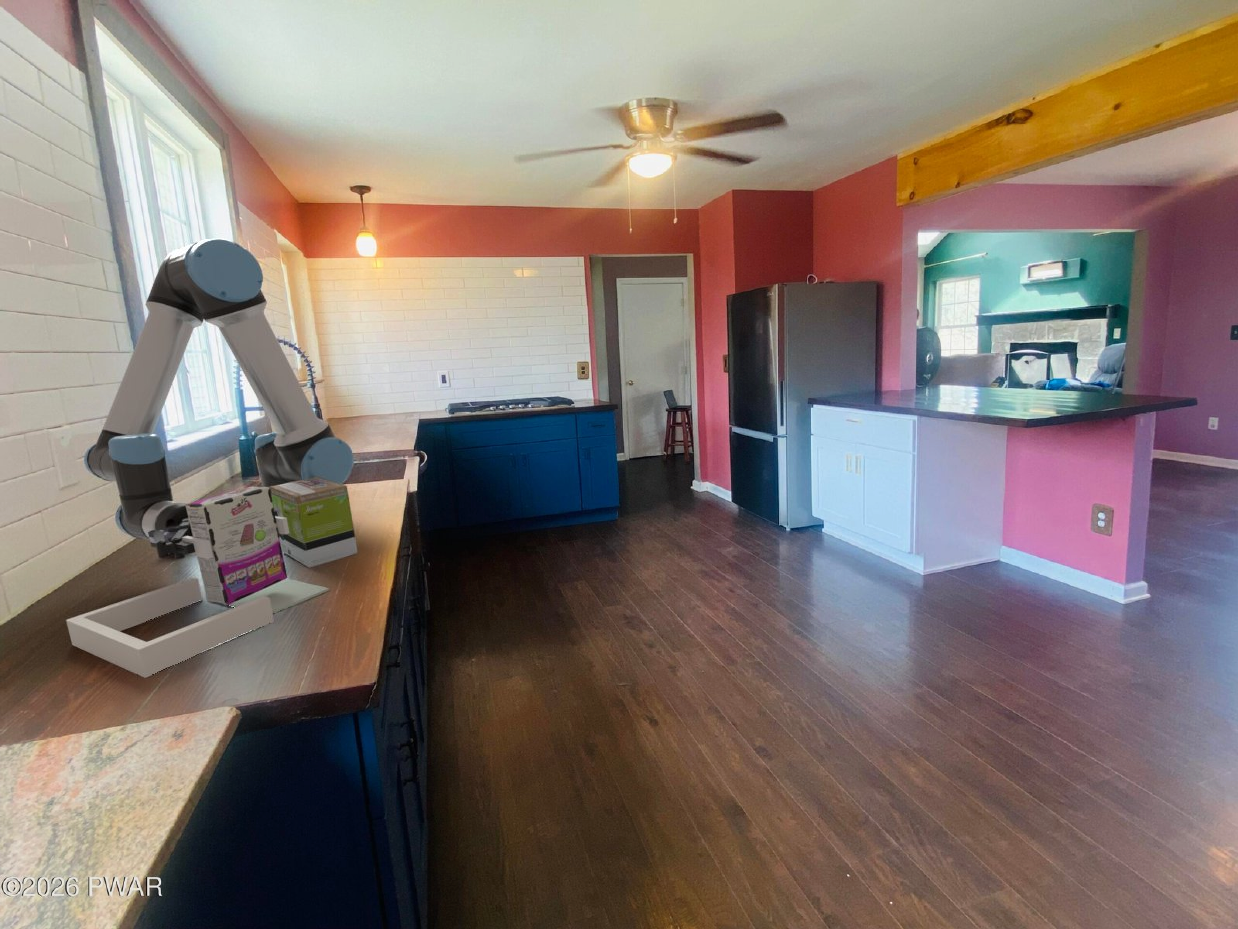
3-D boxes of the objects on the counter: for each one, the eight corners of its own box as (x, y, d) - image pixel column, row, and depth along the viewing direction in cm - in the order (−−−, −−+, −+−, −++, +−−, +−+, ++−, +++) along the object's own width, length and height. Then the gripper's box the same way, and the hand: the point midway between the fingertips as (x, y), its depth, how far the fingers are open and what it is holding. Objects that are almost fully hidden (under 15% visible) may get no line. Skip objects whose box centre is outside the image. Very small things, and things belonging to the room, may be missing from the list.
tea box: (280, 554, 124) (267, 485, 121) (329, 540, 131) (319, 475, 128) (307, 569, 114) (294, 494, 111) (359, 554, 121) (348, 483, 118)
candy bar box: (267, 576, 104) (250, 485, 101) (288, 578, 102) (272, 486, 99) (204, 603, 94) (183, 502, 91) (226, 606, 92) (205, 504, 89)
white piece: (198, 599, 102) (193, 577, 101) (274, 621, 91) (269, 597, 90) (72, 645, 87) (65, 619, 87) (145, 678, 77) (138, 649, 76)
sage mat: (274, 577, 110) (273, 575, 110) (328, 590, 103) (328, 588, 102) (210, 601, 101) (210, 598, 101) (265, 617, 93) (265, 614, 93)
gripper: (250, 524, 116) (321, 536, 105) (101, 567, 96) (170, 587, 85) (243, 487, 114) (314, 495, 104) (90, 523, 94) (159, 537, 84)
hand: (249, 537), depth 95 cm, fingers closed on candy bar box, 11 cm apart
